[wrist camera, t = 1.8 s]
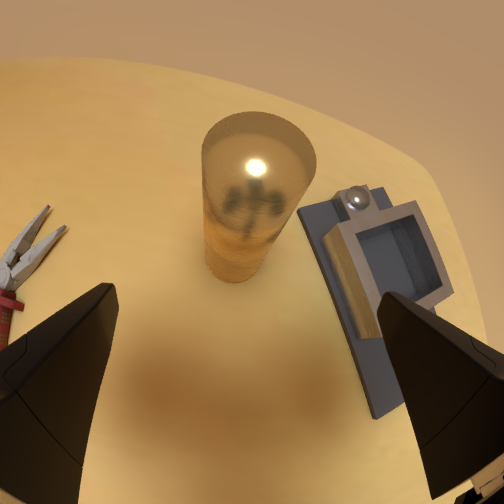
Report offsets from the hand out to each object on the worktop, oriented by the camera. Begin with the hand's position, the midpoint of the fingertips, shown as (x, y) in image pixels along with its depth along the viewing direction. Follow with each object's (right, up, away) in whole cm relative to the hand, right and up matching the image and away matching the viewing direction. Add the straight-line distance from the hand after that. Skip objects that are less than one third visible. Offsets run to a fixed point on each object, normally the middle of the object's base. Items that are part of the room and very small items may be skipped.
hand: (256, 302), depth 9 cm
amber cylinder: (-2, +1, +12) cm, 13 cm away
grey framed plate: (+11, -2, +13) cm, 17 cm away
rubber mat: (+11, -2, +13) cm, 17 cm away
